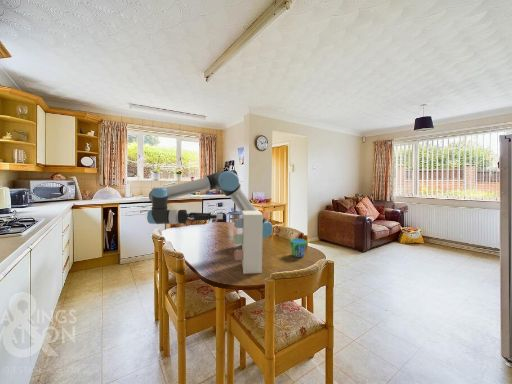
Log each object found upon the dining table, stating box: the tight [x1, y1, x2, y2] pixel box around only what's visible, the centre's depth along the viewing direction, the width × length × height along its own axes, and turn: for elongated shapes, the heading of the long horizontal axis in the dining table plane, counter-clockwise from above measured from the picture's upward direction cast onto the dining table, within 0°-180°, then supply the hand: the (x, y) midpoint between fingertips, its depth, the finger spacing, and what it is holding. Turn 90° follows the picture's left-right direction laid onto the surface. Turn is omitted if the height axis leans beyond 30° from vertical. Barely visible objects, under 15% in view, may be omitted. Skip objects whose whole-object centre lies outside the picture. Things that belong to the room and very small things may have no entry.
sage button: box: [233, 233, 243, 245], centre depth 126 cm, size 5×4×4 cm
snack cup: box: [289, 238, 308, 258], centre depth 149 cm, size 16×10×10 cm
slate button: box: [233, 218, 243, 229], centre depth 125 cm, size 5×4×4 cm
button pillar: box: [241, 210, 264, 275], centre depth 127 cm, size 10×14×32 cm
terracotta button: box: [233, 249, 243, 261], centre depth 127 cm, size 5×4×4 cm
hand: (222, 216), depth 124 cm, fingers closed
